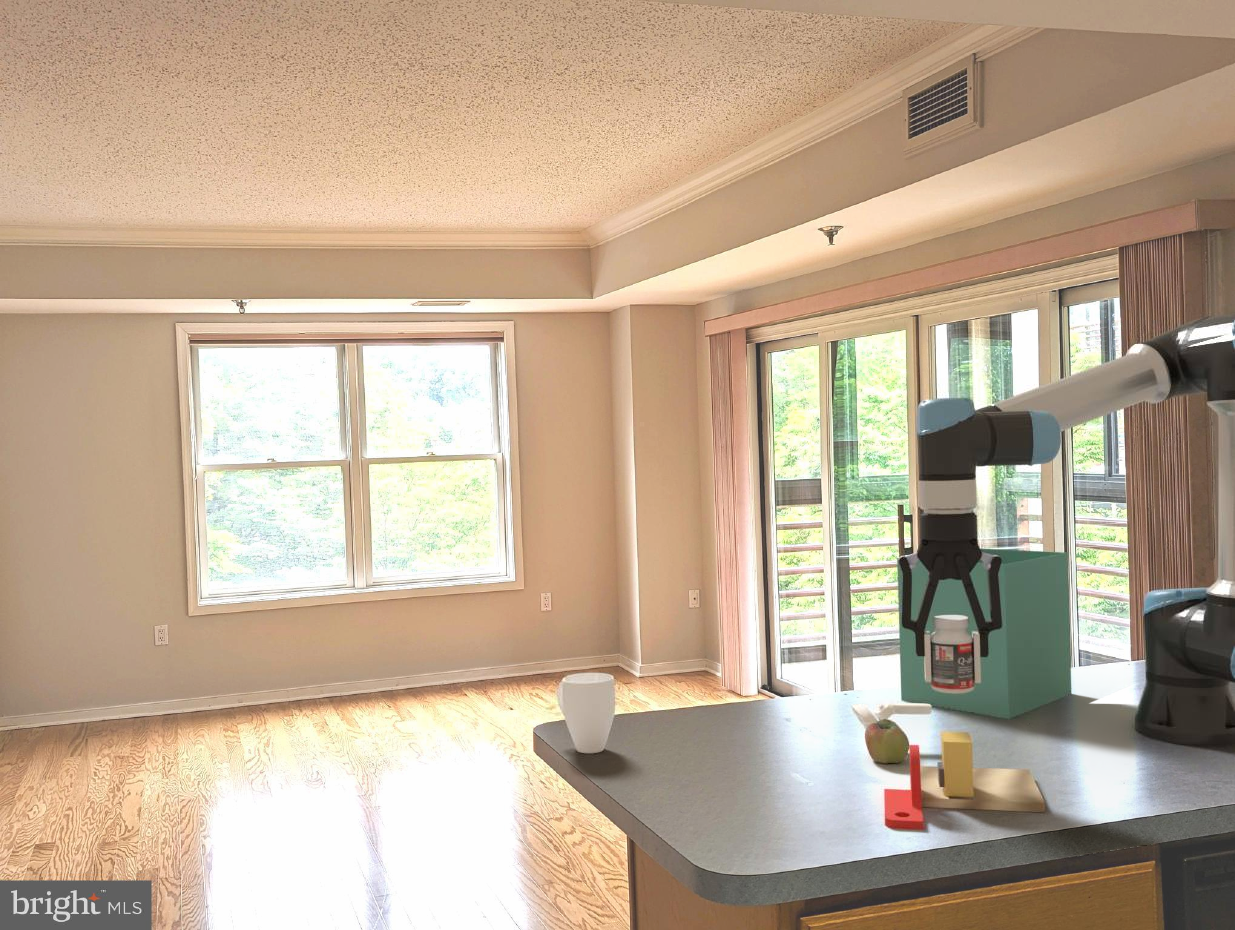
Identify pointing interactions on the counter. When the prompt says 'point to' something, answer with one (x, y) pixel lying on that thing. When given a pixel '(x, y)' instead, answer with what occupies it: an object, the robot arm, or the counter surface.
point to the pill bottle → (952, 655)
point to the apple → (886, 742)
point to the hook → (888, 711)
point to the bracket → (906, 799)
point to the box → (1000, 635)
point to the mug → (588, 709)
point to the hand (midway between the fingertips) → (952, 680)
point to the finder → (956, 764)
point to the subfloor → (986, 791)
